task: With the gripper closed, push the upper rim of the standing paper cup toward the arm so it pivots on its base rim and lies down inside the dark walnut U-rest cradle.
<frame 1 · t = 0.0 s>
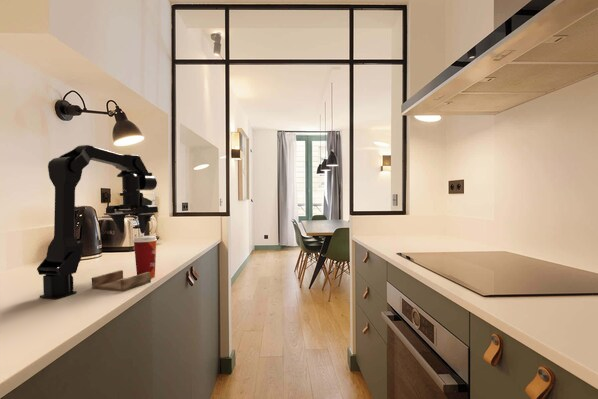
hand: (132, 233, 127), 15 cm above the counter, fingers open, 9 cm apart
u rest: (122, 285, 110), on the counter
paper cup: (146, 277, 120), on the counter
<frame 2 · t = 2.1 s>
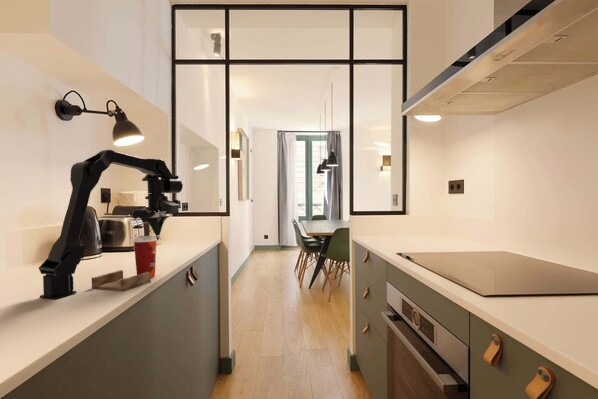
hand: (157, 235, 130), 13 cm above the counter, fingers closed
nothing on the counter moved.
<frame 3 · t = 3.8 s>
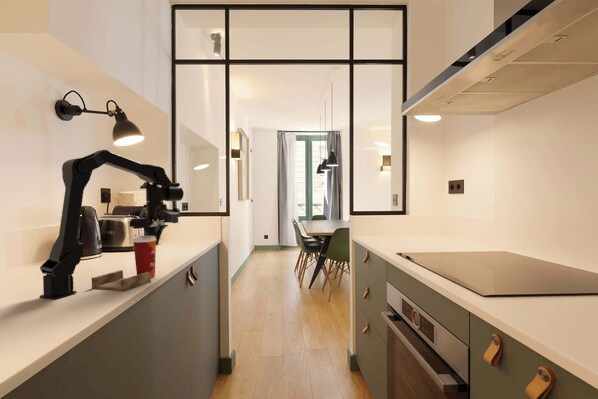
hand: (155, 245, 125), 10 cm above the counter, fingers closed
paper cup: (146, 277, 120), on the counter, touching gripper
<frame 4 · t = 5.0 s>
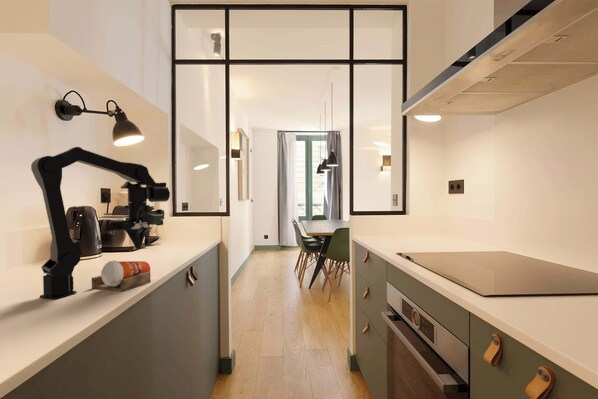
hand: (138, 248, 117), 10 cm above the counter, fingers closed
paper cup: (143, 269, 118), point 3 cm above the counter, touching u rest
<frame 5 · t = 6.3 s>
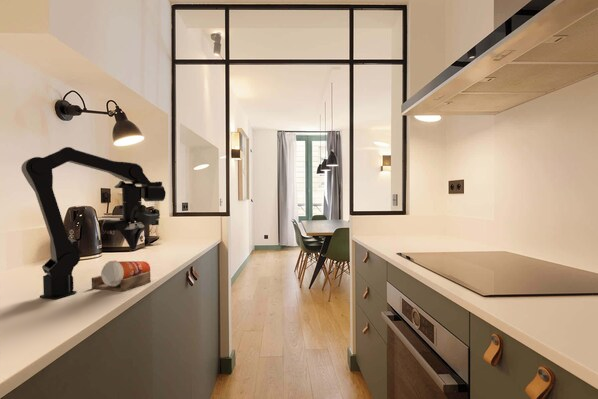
hand: (133, 249, 115), 11 cm above the counter, fingers closed
nothing on the counter moved.
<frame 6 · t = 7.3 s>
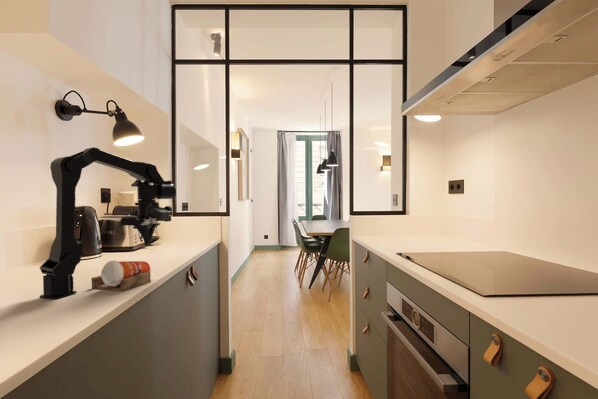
hand: (147, 243, 123), 11 cm above the counter, fingers closed
nothing on the counter moved.
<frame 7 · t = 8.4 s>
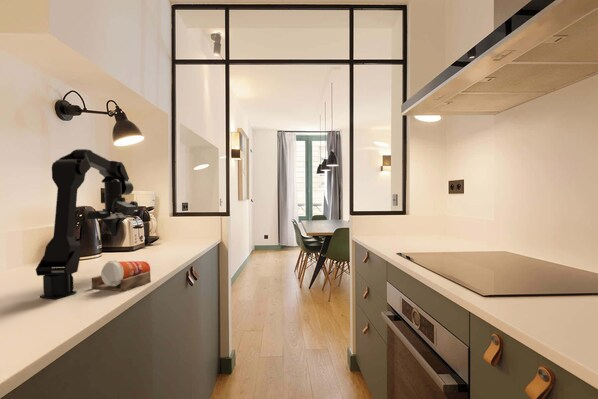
hand: (114, 236, 131), 13 cm above the counter, fingers closed
nothing on the counter moved.
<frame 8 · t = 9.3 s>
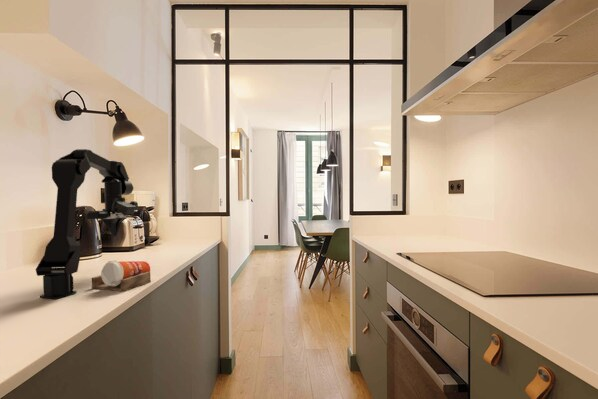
hand: (114, 236, 131), 13 cm above the counter, fingers closed
nothing on the counter moved.
at the end: paper cup tilted 83°; paper cup inside the target area (1.8 cm from its centre), point 3.3 cm above the counter; paper cup touching u rest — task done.
